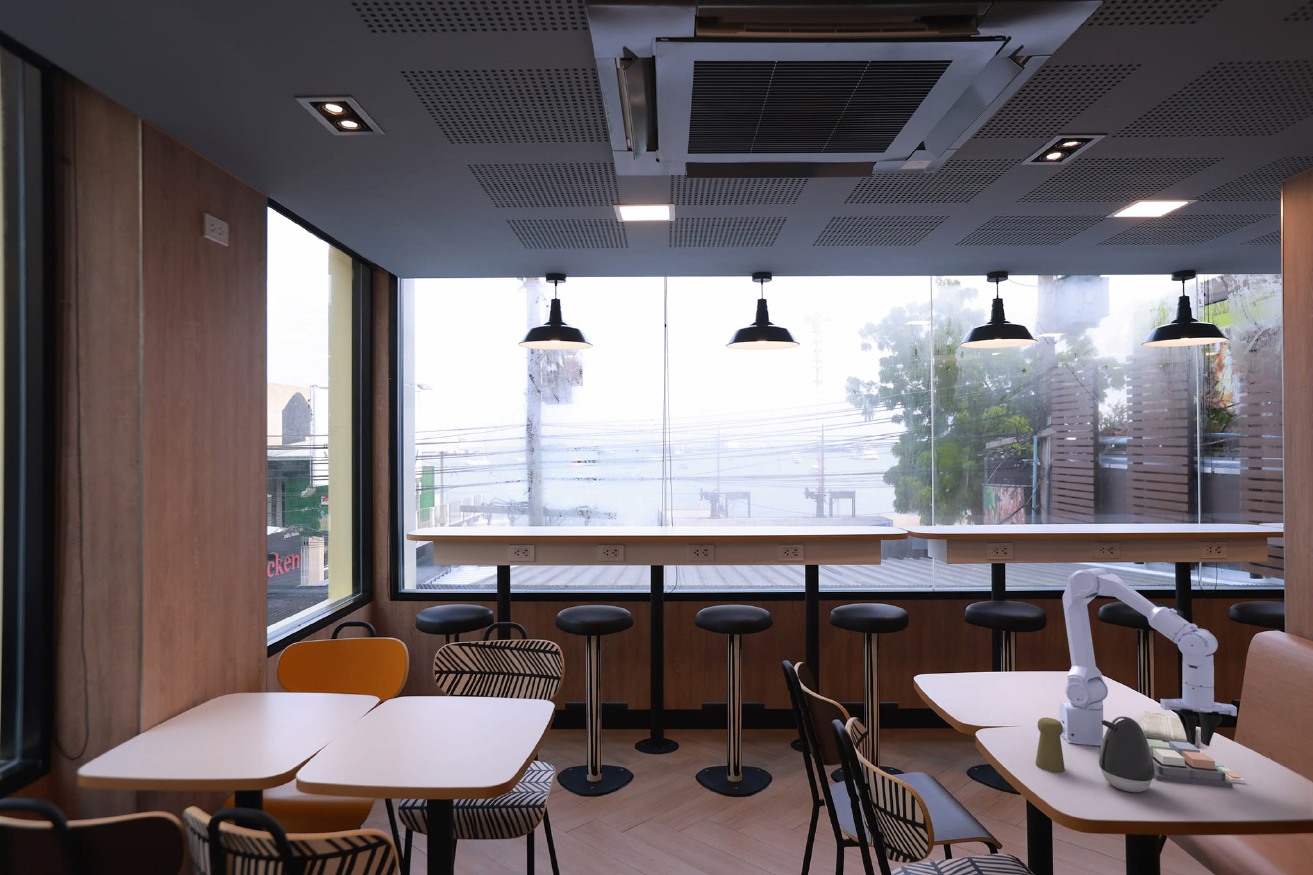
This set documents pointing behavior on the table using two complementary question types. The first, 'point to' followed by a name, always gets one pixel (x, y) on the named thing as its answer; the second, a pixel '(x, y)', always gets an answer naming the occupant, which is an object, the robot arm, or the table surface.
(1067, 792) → the table surface
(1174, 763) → the ivory key
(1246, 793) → the table surface
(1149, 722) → the washcloth
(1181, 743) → the slate key
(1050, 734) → the cork
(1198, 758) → the terracotta key
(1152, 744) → the sage key
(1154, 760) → the keypad base
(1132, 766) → the pump dispenser
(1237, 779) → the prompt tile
